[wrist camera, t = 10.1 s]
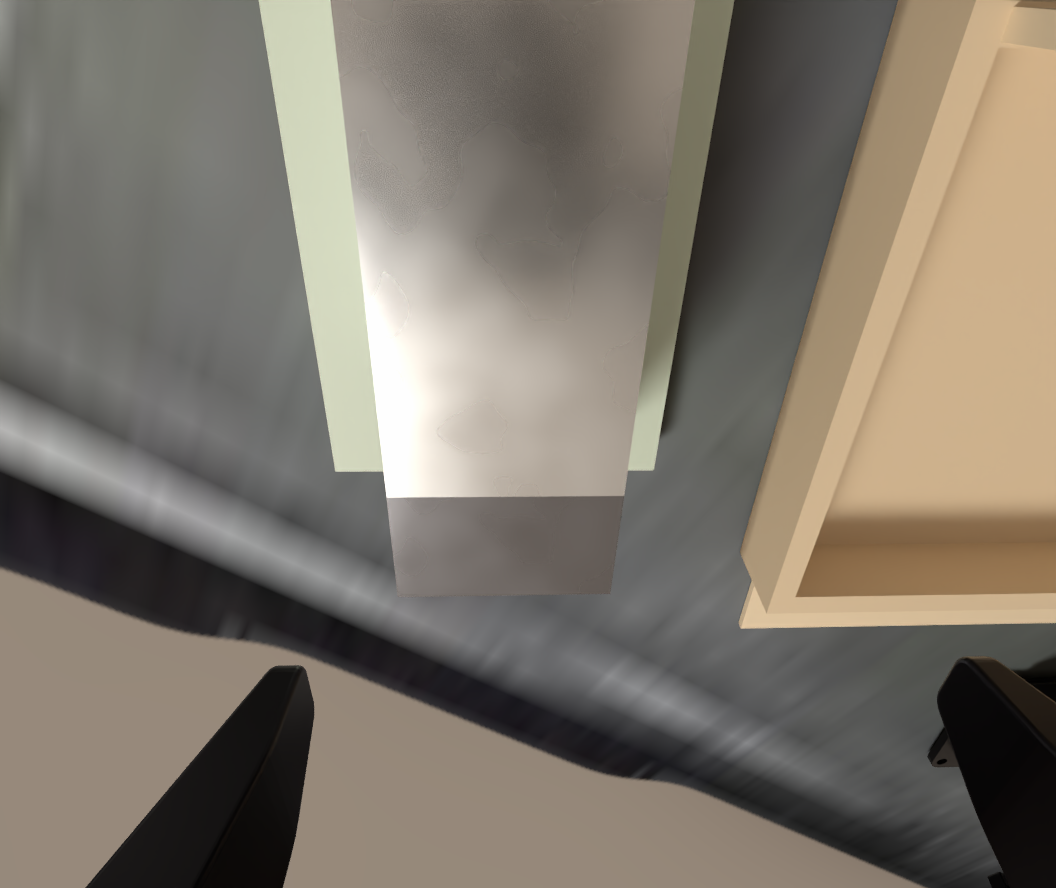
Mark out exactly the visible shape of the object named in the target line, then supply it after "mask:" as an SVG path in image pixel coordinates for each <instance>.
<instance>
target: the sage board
mask: <svg viewBox="0 0 1056 888" xmlns="http://www.w3.org/2000/svg"><path fill="white" fill-rule="evenodd" d="M259 4H260V10H261V17H262V23H263V29H264V35H265V41H266V47H267V53H268V60H269V66H270V72H271V78H272V84H273V90H274V96H275V103H276V109H277V115H278V121H279V127H280V133H281V139H282V146H283V152H284V158H285V164H286V170H287V176H288V183H289V189H290V195H291V201H292V207H293V213H294V219H295V226H296V232H297V238H298V244H299V250H300V256H301V262H302V269H303V275H304V281H305V287H306V293H307V299H308V305H309V312H310V318H311V324H312V330H313V336H314V342H315V349H316V355H317V361H318V367H319V373H320V379H321V385H322V392H323V398H324V404H325V410H326V416H327V422H328V428H329V435H330V441H331V447H332V453H333V459H334V465H335V471H336V472H340V471H384V470H383V461H382V452H381V443H380V434H379V426H378V417H377V408H376V399H375V390H374V381H373V373H372V364H371V355H370V346H369V337H368V328H367V320H366V311H365V302H364V293H363V284H362V275H361V267H360V258H359V249H358V240H357V231H356V222H355V213H354V205H353V196H352V187H351V178H350V169H349V160H348V152H347V143H346V134H345V125H344V116H343V107H342V99H341V90H340V81H339V72H338V63H337V54H336V46H335V37H334V28H333V19H332V10H331V1H330V0H259ZM733 5H734V0H695V5H694V12H693V19H692V26H691V33H690V40H689V47H688V54H687V61H686V68H685V75H684V82H683V89H682V96H681V103H680V110H679V117H678V124H677V130H676V137H675V144H674V151H673V158H672V165H671V172H670V179H669V186H668V193H667V200H666V207H665V214H664V221H663V228H662V235H661V242H660V249H659V256H658V263H657V270H656V277H655V284H654V291H653V298H652V305H651V312H650V319H649V326H648V333H647V340H646V347H645V354H644V361H643V368H642V375H641V382H640V389H639V395H638V402H637V409H636V416H635V423H634V430H633V437H632V444H631V451H630V458H629V465H628V470H654V465H655V459H656V454H657V448H658V442H659V436H660V430H661V424H662V419H663V413H664V407H665V401H666V395H667V389H668V384H669V378H670V372H671V366H672V360H673V355H674V349H675V343H676V337H677V331H678V325H679V320H680V314H681V308H682V302H683V296H684V291H685V285H686V279H687V273H688V267H689V261H690V256H691V250H692V244H693V238H694V232H695V226H696V221H697V215H698V209H699V203H700V197H701V192H702V186H703V180H704V174H705V168H706V162H707V157H708V151H709V145H710V139H711V133H712V127H713V122H714V116H715V110H716V104H717V98H718V93H719V87H720V81H721V75H722V69H723V63H724V58H725V52H726V46H727V40H728V34H729V28H730V23H731V17H732V11H733Z"/></svg>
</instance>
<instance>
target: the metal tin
mask: <svg viewBox="0 0 1056 888" xmlns="http://www.w3.org/2000/svg"><path fill="white" fill-rule="evenodd" d="M330 1H331V10H332V19H333V28H334V37H335V46H336V54H337V63H338V72H339V81H340V90H341V99H342V107H343V116H344V125H345V134H346V143H347V152H348V160H349V169H350V178H351V187H352V196H353V205H354V213H355V222H356V231H357V240H358V249H359V258H360V267H361V275H362V284H363V293H364V302H365V311H366V320H367V328H368V337H369V346H370V355H371V364H372V373H373V381H374V390H375V399H376V408H377V417H378V426H379V434H380V443H381V452H382V461H383V470H384V479H385V487H386V496H387V505H388V514H389V523H390V532H391V540H392V549H393V558H394V567H395V576H396V585H397V593H398V597H432V596H497V595H562V594H610V591H611V584H612V577H613V570H614V563H615V556H616V549H617V542H618V535H619V528H620V521H621V514H622V507H623V500H624V493H625V486H626V479H627V472H628V465H629V458H630V451H631V444H632V437H633V430H634V423H635V416H636V409H637V402H638V395H639V389H640V382H641V375H642V368H643V361H644V354H645V347H646V340H647V333H648V326H649V319H650V312H651V305H652V298H653V291H654V284H655V277H656V270H657V263H658V256H659V249H660V242H661V235H662V228H663V221H664V214H665V207H666V200H667V193H668V186H669V179H670V172H671V165H672V158H673V151H674V144H675V137H676V130H677V124H678V117H679V110H680V103H681V96H682V89H683V82H684V75H685V68H686V61H687V54H688V47H689V40H690V33H691V26H692V19H693V12H694V5H695V0H330Z"/></svg>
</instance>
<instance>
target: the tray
mask: <svg viewBox="0 0 1056 888" xmlns="http://www.w3.org/2000/svg"><path fill="white" fill-rule="evenodd" d="M740 553H741V556H742V558H743V560H744V563H745V565H746V567H747V570H748V572H749V574H750V577H751V579H752V581H751V584H750V588H749V591H748V594H747V597H746V601H745V604H744V607H743V610H742V613H741V617H740V620H739V625H740V628H792V627H848V626H904V625H960V624H1016V623H1056V0H898V3H897V6H896V10H895V13H894V17H893V20H892V24H891V27H890V31H889V34H888V38H887V41H886V45H885V48H884V52H883V55H882V59H881V62H880V66H879V69H878V73H877V76H876V80H875V83H874V87H873V90H872V94H871V97H870V100H869V104H868V107H867V111H866V114H865V118H864V121H863V125H862V128H861V132H860V135H859V139H858V142H857V146H856V149H855V153H854V156H853V160H852V163H851V167H850V170H849V174H848V177H847V181H846V184H845V188H844V191H843V195H842V198H841V202H840V205H839V208H838V212H837V215H836V219H835V222H834V226H833V229H832V233H831V236H830V240H829V243H828V247H827V250H826V254H825V257H824V261H823V264H822V268H821V271H820V275H819V278H818V282H817V285H816V289H815V292H814V296H813V299H812V303H811V306H810V310H809V313H808V316H807V320H806V323H805V327H804V330H803V334H802V337H801V341H800V344H799V348H798V351H797V355H796V358H795V362H794V365H793V369H792V372H791V376H790V379H789V383H788V386H787V390H786V393H785V397H784V400H783V404H782V407H781V411H780V414H779V418H778V421H777V424H776V428H775V431H774V435H773V438H772V442H771V445H770V449H769V452H768V456H767V459H766V463H765V466H764V470H763V473H762V477H761V480H760V484H759V487H758V491H757V494H756V498H755V501H754V505H753V508H752V512H751V515H750V519H749V522H748V526H747V529H746V532H745V536H744V539H743V543H742V546H741V550H740Z"/></svg>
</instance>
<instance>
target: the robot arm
mask: <svg viewBox="0 0 1056 888" xmlns="http://www.w3.org/2000/svg"><path fill="white" fill-rule="evenodd" d="M937 704H938V709H939V712H940V715H941V718H942V721H943V724H944V726H945V729H944V731H943V732H942V734H941V735H940V737H939V739H938V740H937V742H936V743H935V745H934V746H933V748H932V749H931V751H930V752H929V754H928V756H927V757H928V759H929V760H930V762H931V764H932V766H934V767H959V768H960V771H961V773H962V776H963V779H964V782H965V784H966V787H967V790H968V793H969V796H970V798H971V801H972V804H973V806H974V809H975V811H976V814H977V816H978V819H979V821H980V823H981V825H982V828H983V830H984V832H985V835H986V837H987V839H988V841H989V843H990V845H991V847H992V850H993V852H994V854H995V856H996V858H997V860H998V862H999V864H1000V866H1001V869H1002V871H1003V873H1001V872H997V873H995V874H992V875H990V876H988V879H989V881H990V884H991V886H992V888H1056V678H1052V679H1023V678H1021V677H1020V676H1018V675H1017V674H1016V673H1014V672H1013V671H1012V670H1010V669H1009V668H1007V667H1006V666H1005V665H1003V664H1002V663H1000V662H999V661H997V660H996V659H993V658H991V657H985V656H980V657H962V658H960V659H958V660H957V661H956V662H955V664H954V666H953V667H952V669H951V671H950V672H949V674H948V676H947V677H946V679H945V681H944V682H943V684H942V686H941V687H940V689H939V691H938V695H937ZM313 720H314V701H313V697H312V693H311V689H310V685H309V681H308V677H307V673H306V670H305V669H304V667H302V666H299V665H297V666H275V667H273V668H271V669H270V670H269V671H268V672H267V673H266V674H265V675H264V676H263V678H262V679H261V680H260V681H259V682H258V684H257V685H256V686H255V687H254V689H253V690H252V691H251V692H250V693H249V694H248V695H247V697H246V698H245V699H244V700H243V701H242V703H241V704H240V705H239V706H238V707H237V708H236V710H235V711H234V712H233V713H232V714H231V716H230V717H229V718H228V719H227V720H226V722H225V723H224V724H223V725H222V726H221V728H220V729H219V730H218V731H217V732H216V733H215V735H214V736H213V737H212V738H211V739H210V741H209V742H208V743H207V744H206V745H205V747H204V748H203V749H202V750H201V751H200V752H199V754H198V755H197V756H196V757H195V758H194V760H193V761H192V762H191V763H190V764H189V766H188V767H187V768H186V769H185V770H184V771H183V773H182V774H181V775H180V776H179V777H178V779H177V780H176V781H175V782H174V783H173V784H172V786H171V787H170V788H169V789H168V791H167V792H166V793H165V794H164V795H163V796H162V798H161V799H160V800H159V801H158V802H157V803H156V805H155V806H154V807H153V808H152V809H151V811H150V812H149V813H148V814H147V815H146V817H145V818H144V819H143V820H142V821H141V822H140V824H139V825H138V826H137V827H136V828H135V830H134V831H133V832H132V833H131V834H130V836H129V837H128V838H127V839H126V840H125V841H124V843H123V844H122V845H121V846H120V847H119V849H118V850H117V851H116V852H115V853H114V855H113V856H112V857H111V858H110V859H109V860H108V862H107V863H106V864H105V865H104V866H103V868H102V869H101V870H100V871H99V872H98V874H97V875H96V876H95V877H94V878H93V879H92V881H91V882H90V883H89V884H88V886H87V887H86V888H283V885H284V881H285V877H286V873H287V870H288V865H289V862H290V858H291V854H292V850H293V846H294V841H295V837H296V831H297V825H298V820H299V814H300V806H301V800H302V794H303V787H304V780H305V774H306V767H307V760H308V754H309V747H310V741H311V734H312V727H313Z"/></svg>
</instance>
